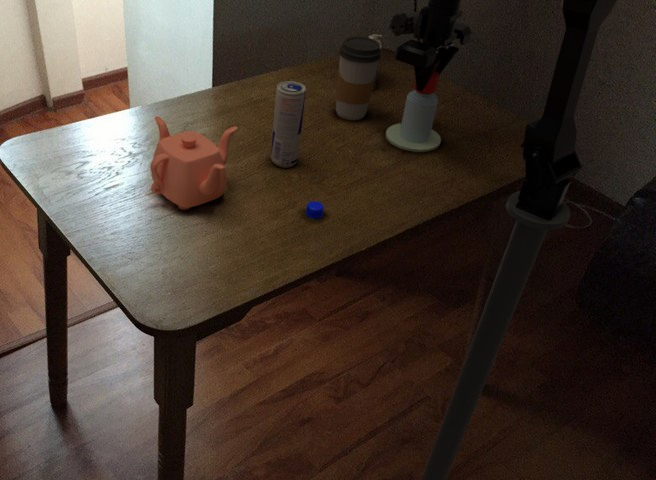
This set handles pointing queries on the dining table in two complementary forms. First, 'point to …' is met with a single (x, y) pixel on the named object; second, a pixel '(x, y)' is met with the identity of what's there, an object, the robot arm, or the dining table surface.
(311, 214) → the bottle cap
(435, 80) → the cap
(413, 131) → the bottle
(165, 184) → the teapot
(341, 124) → the dining table surface
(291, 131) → the beverage can
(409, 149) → the coaster
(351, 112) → the coffee cup
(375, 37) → the flask
